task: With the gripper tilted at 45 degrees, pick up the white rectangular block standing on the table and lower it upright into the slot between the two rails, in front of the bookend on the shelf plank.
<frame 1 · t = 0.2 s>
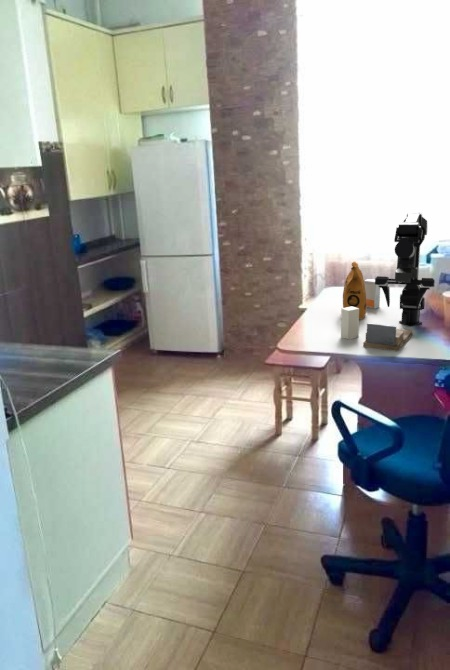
hand: (402, 307, 185), 15 cm above the table, tool pointing down, fingers open, 9 cm apart
shelf plank: (384, 344, 197), on the table
coffee package: (353, 315, 234), on the table
white rectangular block: (349, 336, 208), on the table
bookend: (381, 334, 192), point 5 cm above the table
skincare box: (371, 307, 246), on the table
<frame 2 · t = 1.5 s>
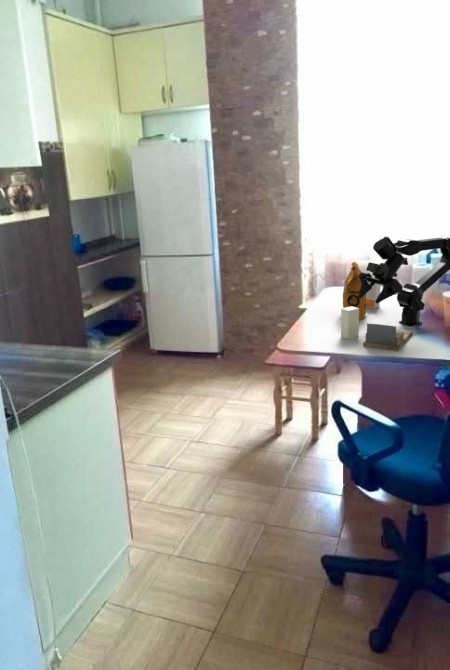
hand: (367, 300, 207), 13 cm above the table, tool tilted 45°, fingers open, 9 cm apart
nothing on the table moved.
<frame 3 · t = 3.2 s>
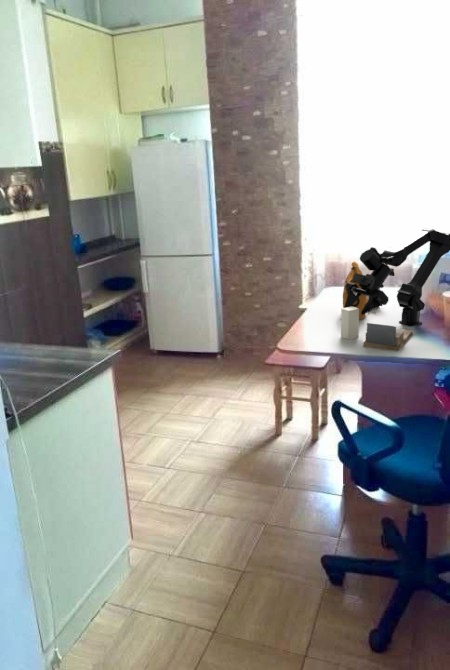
hand: (353, 311, 205), 10 cm above the table, tool tilted 45°, fingers open, 9 cm apart
nothing on the table moved.
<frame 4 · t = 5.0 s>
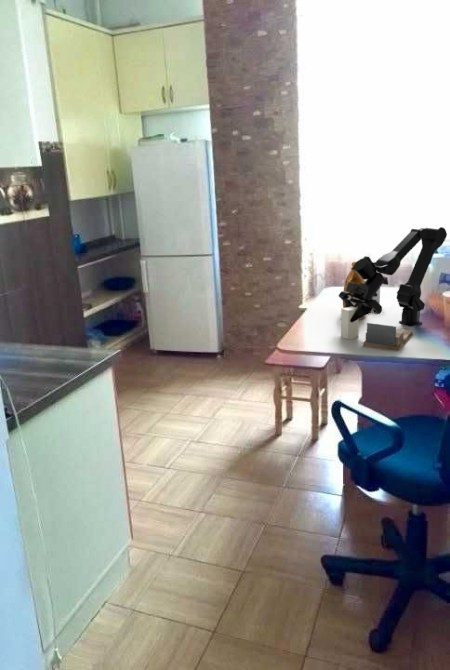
hand: (347, 320, 205), 7 cm above the table, tool tilted 45°, fingers closed on white rectangular block, 4 cm apart
white rectangular block: (349, 336, 208), on the table, touching gripper
everything else where it was.
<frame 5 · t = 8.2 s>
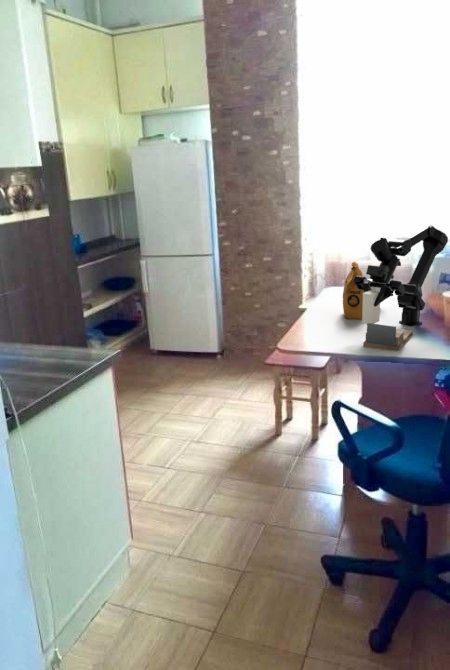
hand: (369, 305, 198), 14 cm above the table, tool tilted 45°, fingers closed on white rectangular block, 4 cm apart
white rectangular block: (370, 321, 201), point 7 cm above the table, touching gripper
everything else where it was.
when the fingers open (9 cm above the table, at t = 11.5 s): white rectangular block stays where it is, resting on shelf plank.
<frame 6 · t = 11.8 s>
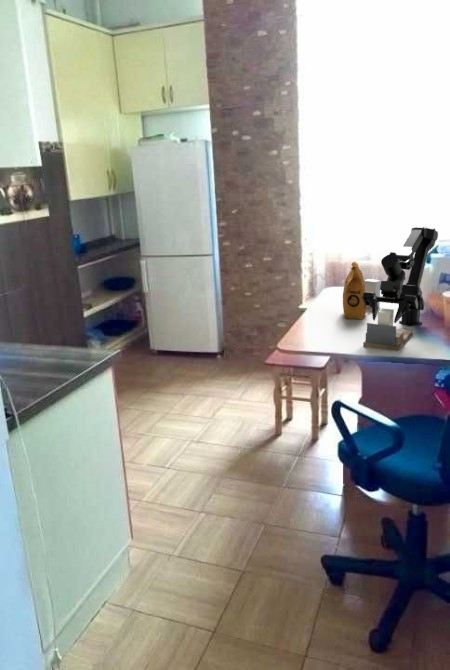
hand: (384, 321, 194), 9 cm above the table, tool tilted 45°, fingers open, 7 cm apart
white rectangular block: (384, 340, 197), point 2 cm above the table, touching shelf plank
everything else where it was.
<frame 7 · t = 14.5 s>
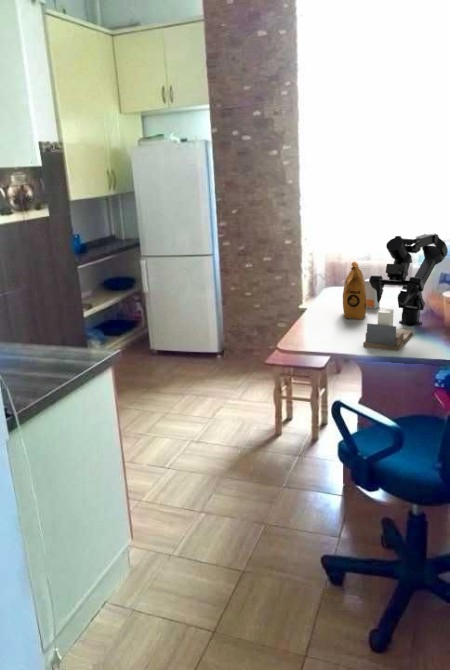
hand: (390, 303, 199), 14 cm above the table, tool tilted 45°, fingers open, 9 cm apart
nothing on the table moved.
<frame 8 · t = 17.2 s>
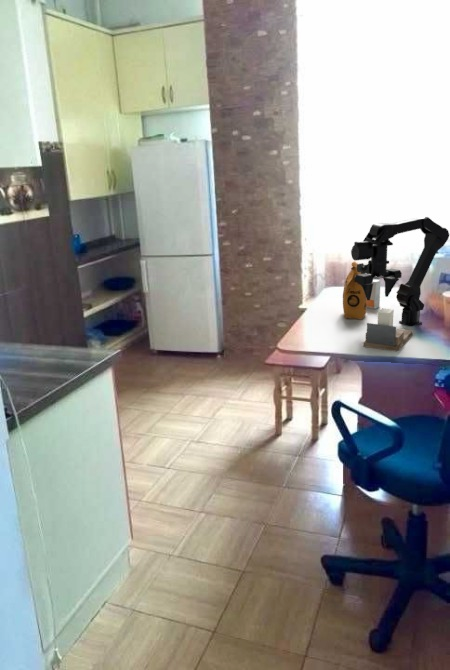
hand: (377, 298, 212), 12 cm above the table, tool pointing down, fingers open, 9 cm apart
nothing on the table moved.
at the end: white rectangular block 0.1 cm off-centre on the shelf plank, point 1.5 cm above the shelf plank's base; white rectangular block tilted 0°; the gripper is holding nothing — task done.
